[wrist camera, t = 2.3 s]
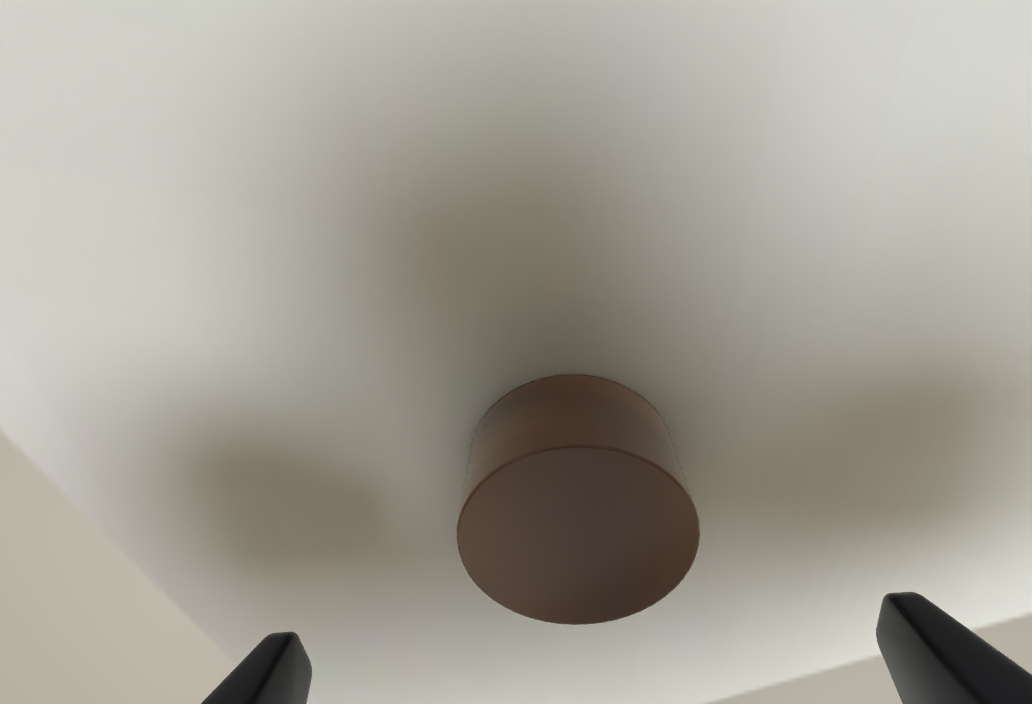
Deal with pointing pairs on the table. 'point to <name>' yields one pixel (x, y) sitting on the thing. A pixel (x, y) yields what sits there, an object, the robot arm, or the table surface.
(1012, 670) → the robot arm
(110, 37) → the table surface
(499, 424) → the cylinder
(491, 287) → the table surface
